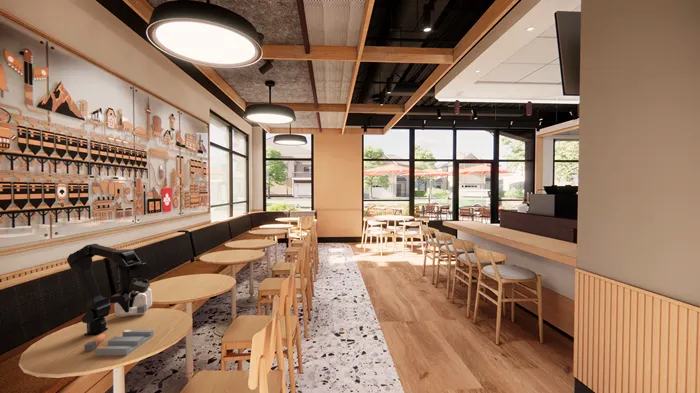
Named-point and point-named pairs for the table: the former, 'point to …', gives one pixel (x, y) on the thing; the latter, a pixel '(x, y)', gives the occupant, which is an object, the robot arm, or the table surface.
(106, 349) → the ribbed grooved tray
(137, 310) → the white-handled mallet
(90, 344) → the orange-handled mallet
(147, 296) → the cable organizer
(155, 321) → the table surface
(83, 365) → the table surface
